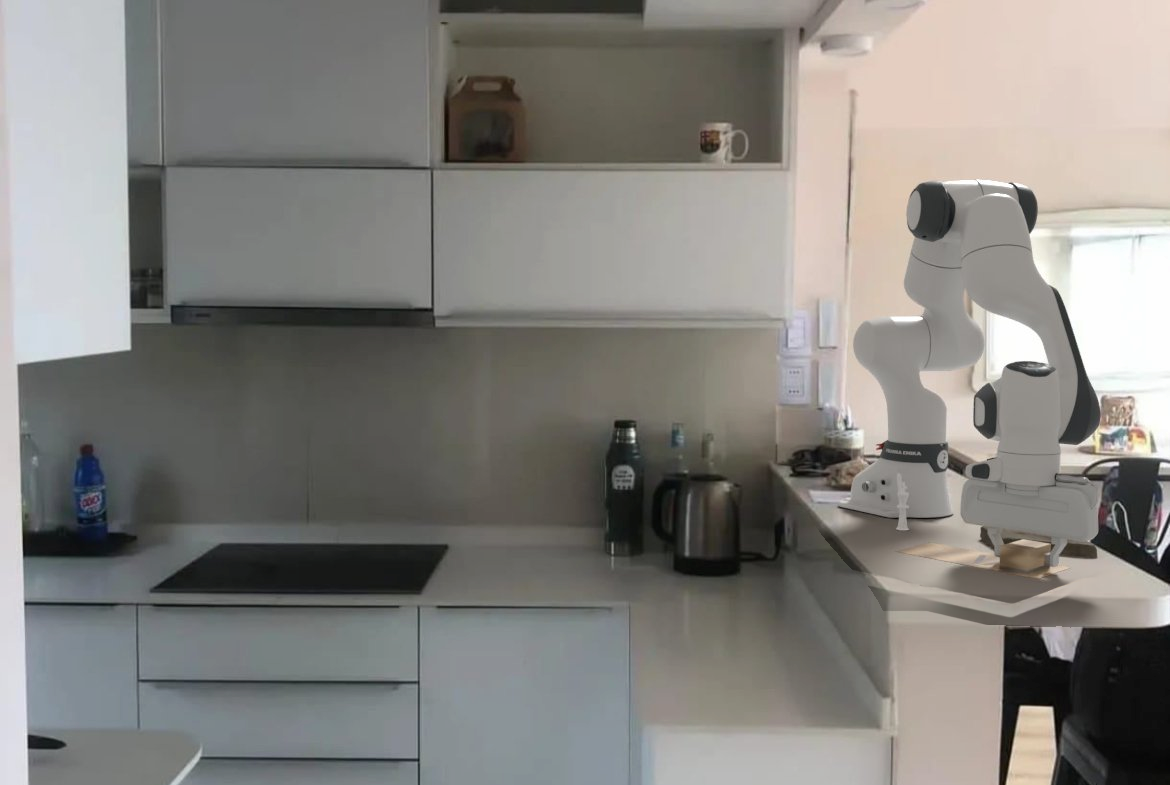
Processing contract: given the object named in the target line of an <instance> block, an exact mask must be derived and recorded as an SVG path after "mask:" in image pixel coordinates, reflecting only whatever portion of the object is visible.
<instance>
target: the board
mask: <svg viewBox="0 0 1170 785" xmlns="http://www.w3.org/2000/svg"><path fill="white" fill-rule="evenodd" d="M894 552H895V553H898V554H906V555H910V556H916V557H920V558H927V559H931V560H936V561H941V562H947V563H951V564H952V563H953V564H958V565H962V566H969V567H974V568H978V569H985V570H989V571H993V572H1000V573H1005V574H1010V575H1016V576H1020V577H1021V576H1022V577H1026V578H1031V579H1037V580H1039V579H1043V578H1045V577H1049V576H1051V575H1054V574H1058V573H1060V572H1063V571H1066V570H1070V567H1069V566H1062V565H1058V566H1056V567H1051V566H1050V567H1047V568H1044V569H1041V570H1038V571H1035V572H1032V573H1029V574H1024V573H1019V572H1014V571H1008V570H1003V569H999V565H1000V557H995V555H994V553H990V552H983V551H979V550H974V549H967V548H962V547H957V546H950V545H945V544H942V543H941V544H940V543H933V542H926V543H922V544H918V545H914V546H910V547H907V548H903V549H900V550H899V549H898V550H895V551H894Z"/></svg>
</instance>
